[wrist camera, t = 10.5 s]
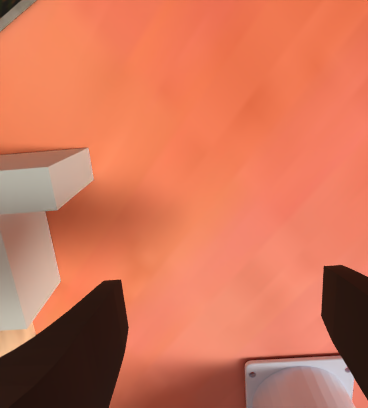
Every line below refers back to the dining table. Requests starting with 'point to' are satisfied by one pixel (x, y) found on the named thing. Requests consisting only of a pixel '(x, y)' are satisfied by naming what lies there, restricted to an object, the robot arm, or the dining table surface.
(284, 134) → the dining table surface
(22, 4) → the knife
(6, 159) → the grey stepped block
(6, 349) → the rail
